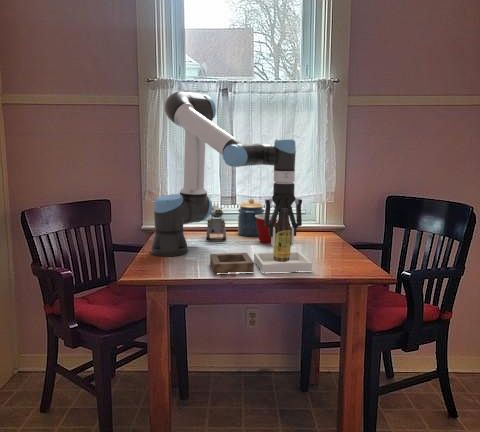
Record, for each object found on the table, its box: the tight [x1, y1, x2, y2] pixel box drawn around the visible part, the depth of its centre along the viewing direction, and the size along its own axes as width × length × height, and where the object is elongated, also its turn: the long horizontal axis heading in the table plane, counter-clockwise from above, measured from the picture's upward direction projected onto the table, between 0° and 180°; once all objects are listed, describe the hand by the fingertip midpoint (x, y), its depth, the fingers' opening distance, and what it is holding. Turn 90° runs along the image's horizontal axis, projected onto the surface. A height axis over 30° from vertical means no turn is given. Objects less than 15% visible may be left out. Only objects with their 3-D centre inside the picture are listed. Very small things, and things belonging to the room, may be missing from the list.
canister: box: [237, 198, 265, 237], centre depth 224 cm, size 13×13×18 cm
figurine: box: [205, 205, 227, 241], centre depth 213 cm, size 9×12×15 cm
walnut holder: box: [209, 252, 255, 275], centre depth 167 cm, size 14×14×4 cm
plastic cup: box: [255, 214, 279, 244], centre depth 208 cm, size 11×11×12 cm
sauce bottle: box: [272, 208, 292, 262], centre depth 168 cm, size 7×6×20 cm
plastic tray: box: [253, 251, 313, 273], centre depth 170 cm, size 18×16×4 cm
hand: (282, 244), depth 168 cm, fingers closed on sauce bottle, 6 cm apart
